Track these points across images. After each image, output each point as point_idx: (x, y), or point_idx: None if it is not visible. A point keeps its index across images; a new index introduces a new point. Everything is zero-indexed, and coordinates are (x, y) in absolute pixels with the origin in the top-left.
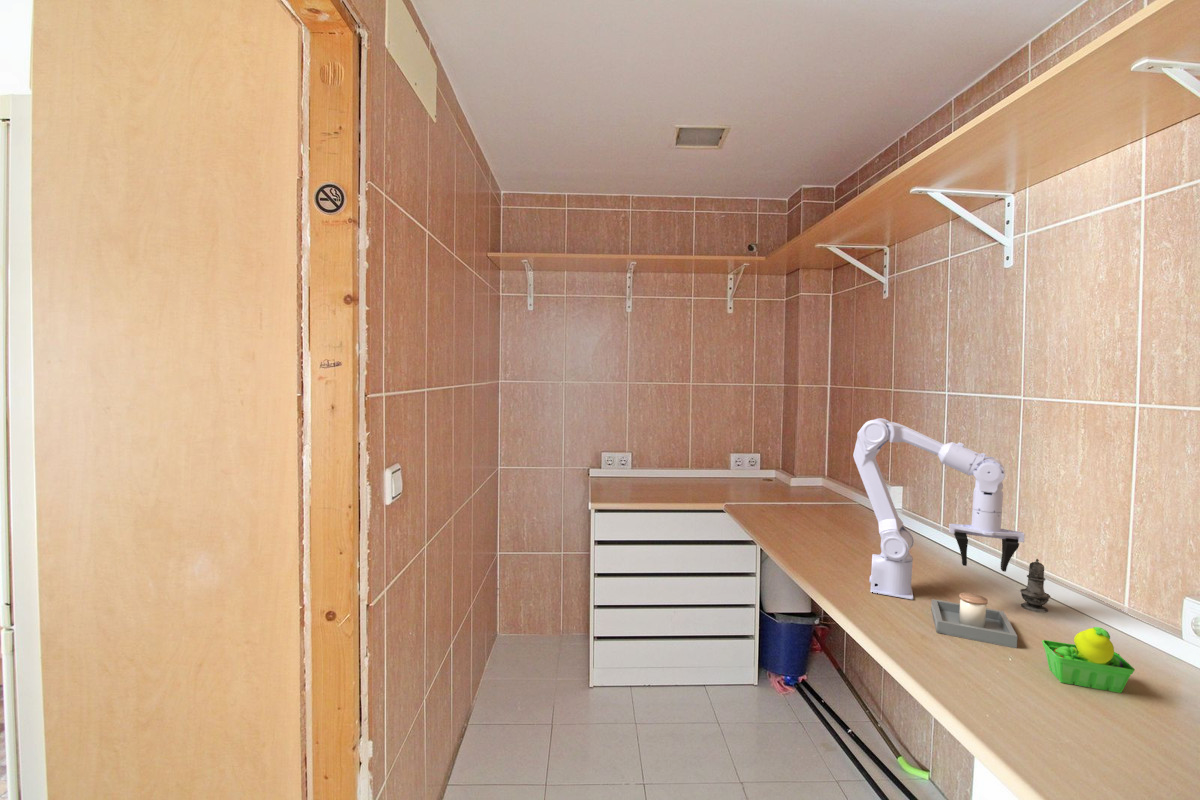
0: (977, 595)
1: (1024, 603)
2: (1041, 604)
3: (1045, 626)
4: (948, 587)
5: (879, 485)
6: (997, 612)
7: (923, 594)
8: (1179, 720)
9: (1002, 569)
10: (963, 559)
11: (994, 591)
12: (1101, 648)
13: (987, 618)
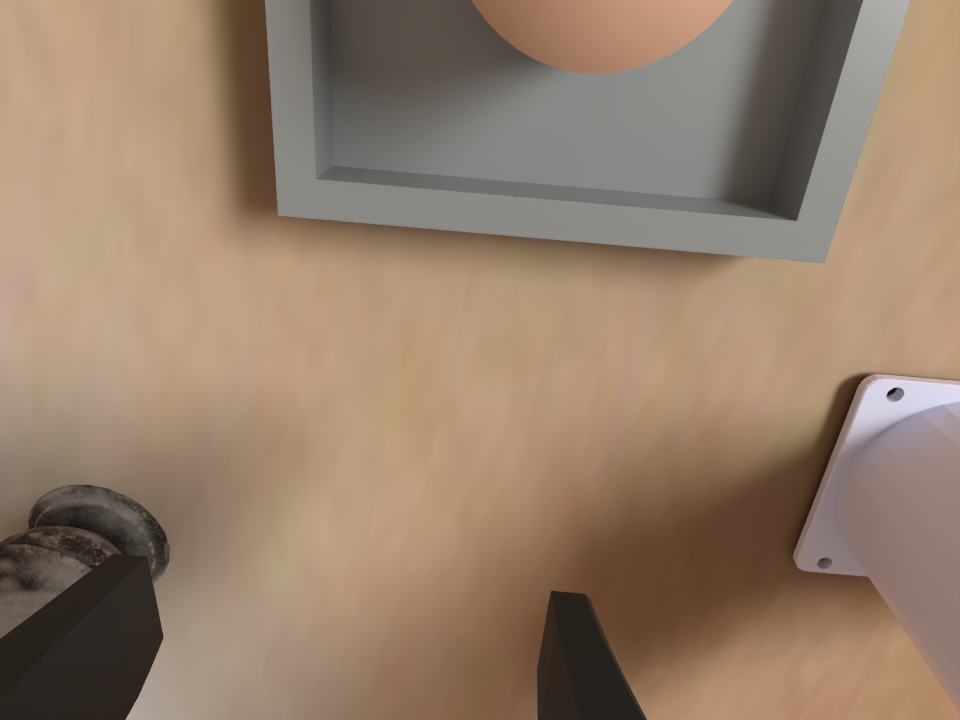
0: (532, 13)
1: None
2: (35, 528)
3: (40, 244)
4: (529, 670)
5: None
6: (329, 177)
7: (731, 512)
8: None
9: (134, 570)
10: (609, 653)
11: (285, 694)
12: None
13: (410, 168)
